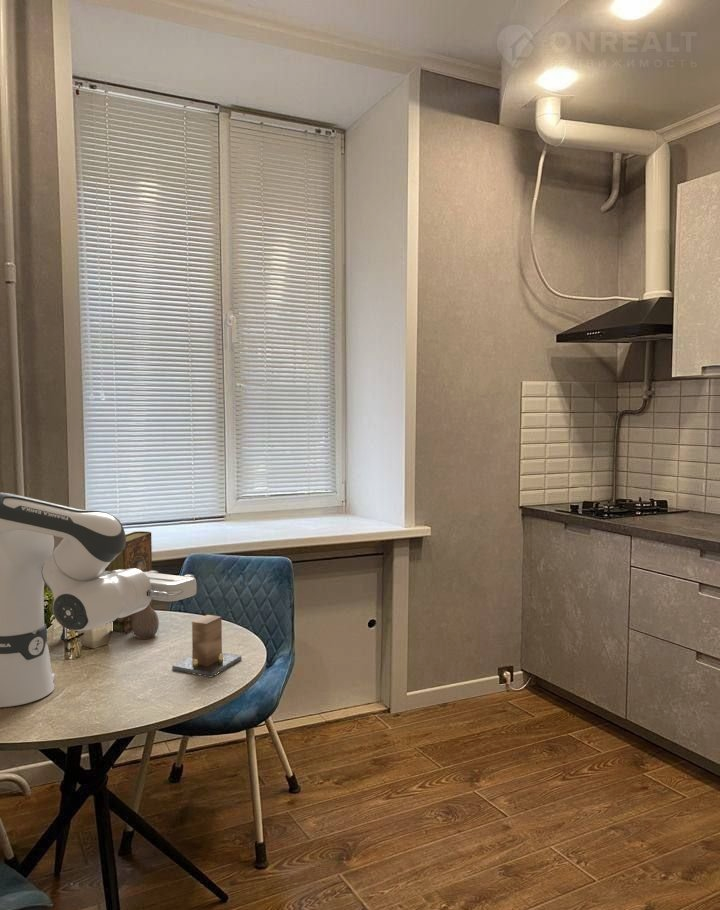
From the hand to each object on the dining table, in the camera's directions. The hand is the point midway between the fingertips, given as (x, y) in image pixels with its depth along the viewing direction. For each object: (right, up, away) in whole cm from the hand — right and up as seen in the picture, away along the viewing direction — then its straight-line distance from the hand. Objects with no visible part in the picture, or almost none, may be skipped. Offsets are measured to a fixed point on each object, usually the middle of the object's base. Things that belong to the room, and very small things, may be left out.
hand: (173, 576), depth 152 cm
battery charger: (-36, -22, +32) cm, 53 cm away
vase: (-16, -22, +32) cm, 42 cm away
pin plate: (+5, -23, +13) cm, 27 cm away
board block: (+5, -22, +13) cm, 26 cm away
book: (-23, -21, +42) cm, 52 cm away
